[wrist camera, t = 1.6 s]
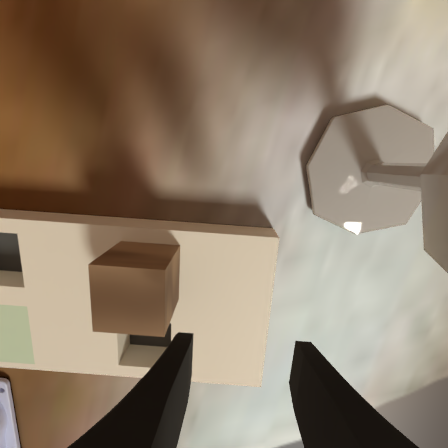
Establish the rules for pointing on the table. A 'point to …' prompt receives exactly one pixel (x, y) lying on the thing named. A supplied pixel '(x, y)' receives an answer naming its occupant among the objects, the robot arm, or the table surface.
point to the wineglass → (381, 175)
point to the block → (135, 288)
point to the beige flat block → (125, 343)
